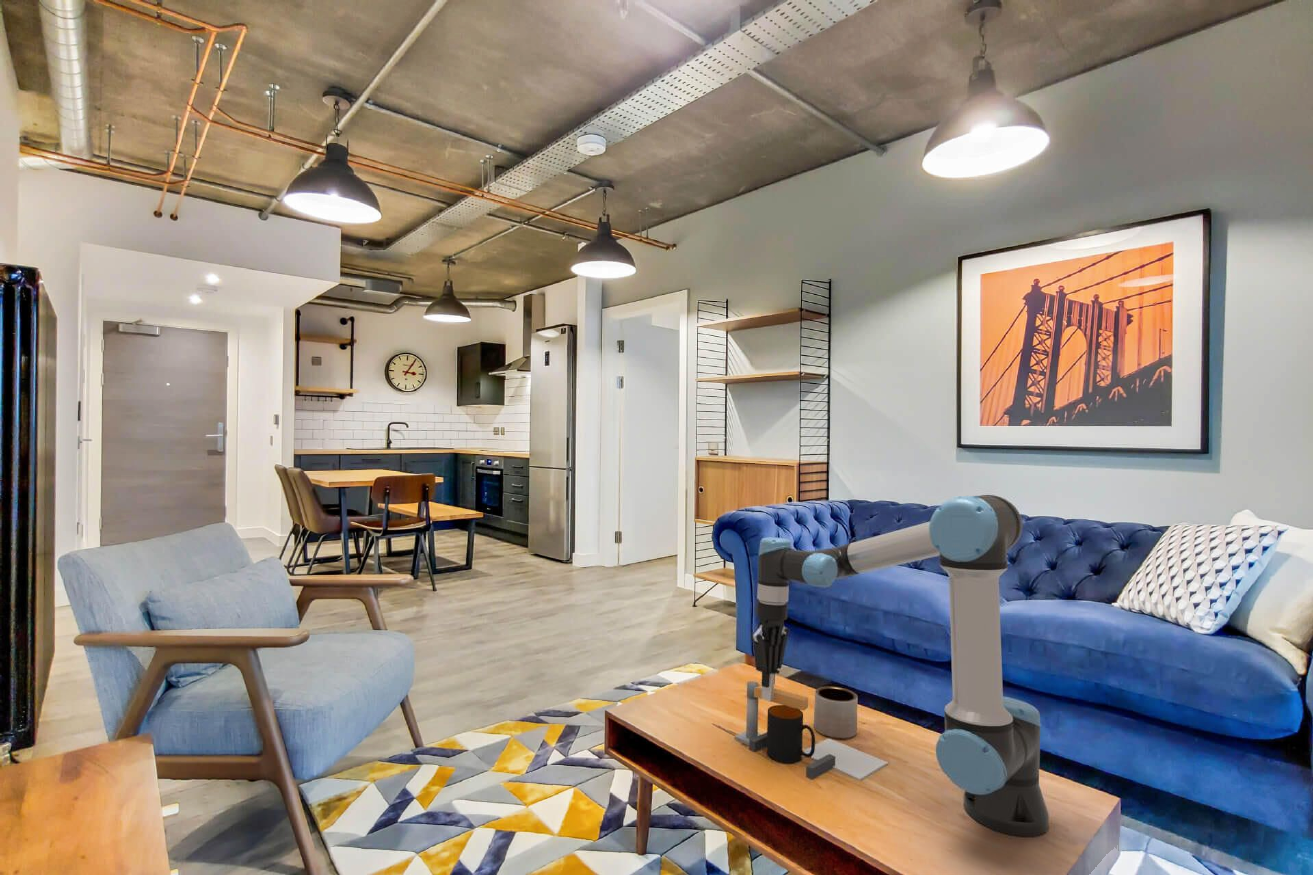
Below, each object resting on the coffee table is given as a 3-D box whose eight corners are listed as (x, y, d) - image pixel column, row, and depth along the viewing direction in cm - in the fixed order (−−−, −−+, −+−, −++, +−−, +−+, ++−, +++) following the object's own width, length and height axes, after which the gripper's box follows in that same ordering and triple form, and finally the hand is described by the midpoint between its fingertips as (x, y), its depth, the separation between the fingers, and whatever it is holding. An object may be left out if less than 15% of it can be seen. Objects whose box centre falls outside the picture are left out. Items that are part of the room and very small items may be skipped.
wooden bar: (808, 708, 156) (808, 695, 156) (803, 712, 153) (803, 699, 154) (750, 692, 165) (750, 680, 165) (744, 695, 163) (744, 683, 163)
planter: (866, 736, 167) (867, 698, 167) (830, 742, 163) (831, 704, 163) (839, 719, 177) (840, 684, 177) (805, 724, 173) (806, 688, 173)
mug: (805, 773, 147) (806, 727, 147) (759, 755, 155) (760, 711, 155) (822, 760, 153) (823, 716, 153) (778, 744, 161) (779, 701, 161)
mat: (887, 764, 152) (887, 762, 152) (860, 780, 144) (860, 778, 144) (828, 739, 164) (828, 738, 164) (800, 753, 156) (800, 751, 156)
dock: (835, 766, 150) (836, 720, 150) (812, 779, 144) (813, 731, 144) (754, 730, 168) (755, 689, 168) (730, 740, 162) (731, 697, 162)
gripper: (775, 596, 166) (770, 690, 165) (743, 601, 158) (738, 700, 157) (800, 601, 161) (795, 699, 160) (768, 607, 152) (763, 710, 151)
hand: (767, 699), depth 158 cm, fingers closed
